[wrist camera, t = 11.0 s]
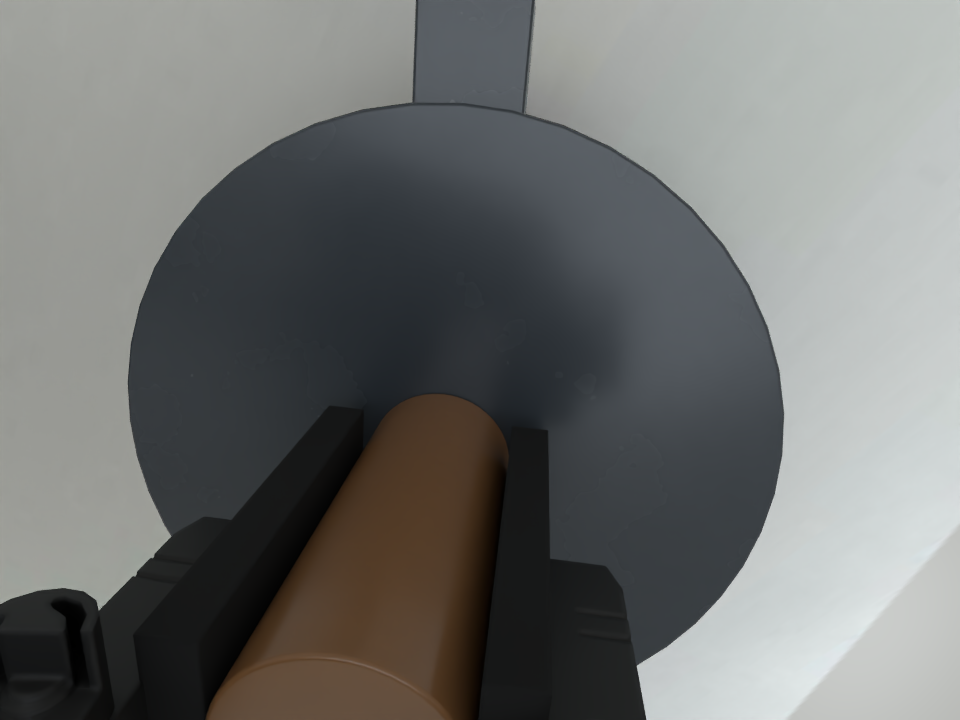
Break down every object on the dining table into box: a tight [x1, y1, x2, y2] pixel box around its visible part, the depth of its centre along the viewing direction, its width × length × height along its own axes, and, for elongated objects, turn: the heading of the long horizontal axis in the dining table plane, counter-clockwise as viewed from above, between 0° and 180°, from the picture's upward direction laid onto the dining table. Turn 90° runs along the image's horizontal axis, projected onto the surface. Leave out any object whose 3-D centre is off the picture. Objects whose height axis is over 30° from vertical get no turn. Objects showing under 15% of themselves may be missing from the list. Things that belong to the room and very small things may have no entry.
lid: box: [128, 103, 784, 720], centre depth 11 cm, size 15×15×9 cm
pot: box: [412, 0, 535, 114], centre depth 19 cm, size 14×19×9 cm
